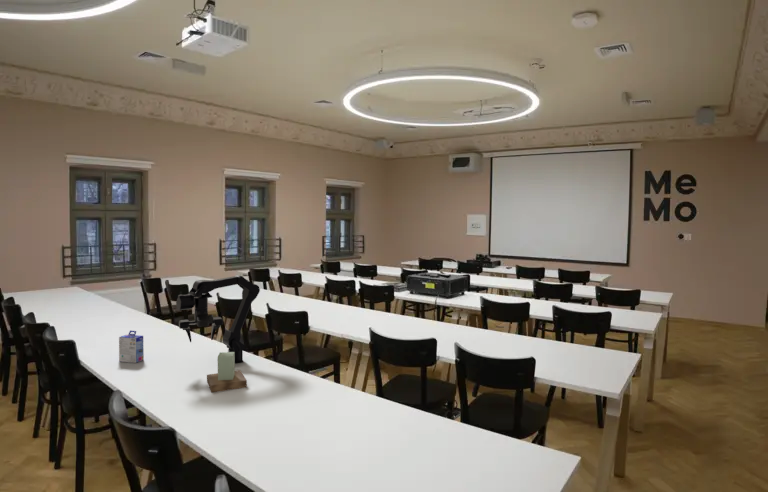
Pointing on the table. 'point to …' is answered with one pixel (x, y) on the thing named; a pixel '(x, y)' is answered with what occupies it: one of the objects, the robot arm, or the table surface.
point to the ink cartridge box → (131, 348)
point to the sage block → (226, 365)
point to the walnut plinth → (226, 382)
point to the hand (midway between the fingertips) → (201, 340)
